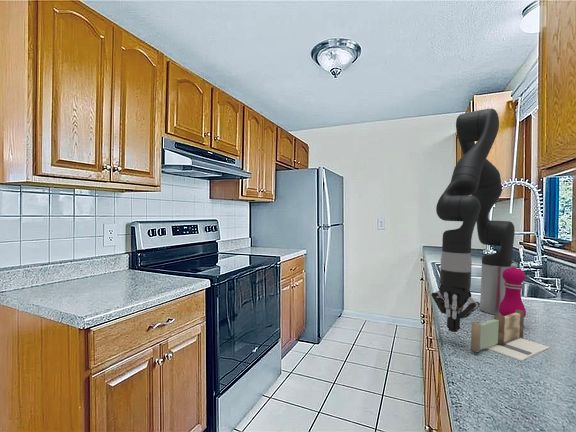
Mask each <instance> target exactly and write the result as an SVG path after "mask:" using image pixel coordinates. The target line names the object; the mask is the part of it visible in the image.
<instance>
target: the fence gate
mask: <svg viewBox="0 0 576 432" xmlns="http://www.w3.org/2000/svg"><path fill="white" fill-rule="evenodd" d="M498 329H499V320H495V319H494V318H493V319H490V320H487V321H483V322H476V321H472V322H471V332H470V333H471V335H470V350H471V351H472V352H475V353H478V352H480V351H481V350H484V349H486V348H487V347H490V346H492V345H495V344H498Z"/></svg>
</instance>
